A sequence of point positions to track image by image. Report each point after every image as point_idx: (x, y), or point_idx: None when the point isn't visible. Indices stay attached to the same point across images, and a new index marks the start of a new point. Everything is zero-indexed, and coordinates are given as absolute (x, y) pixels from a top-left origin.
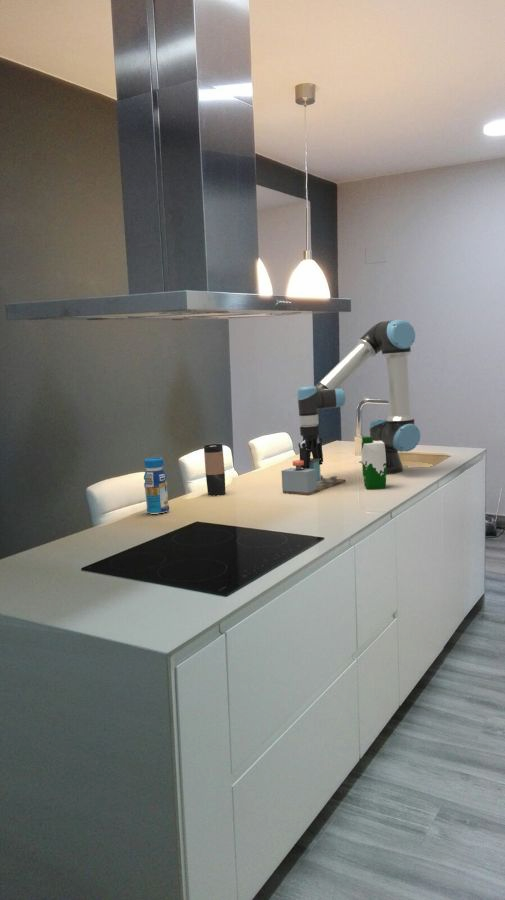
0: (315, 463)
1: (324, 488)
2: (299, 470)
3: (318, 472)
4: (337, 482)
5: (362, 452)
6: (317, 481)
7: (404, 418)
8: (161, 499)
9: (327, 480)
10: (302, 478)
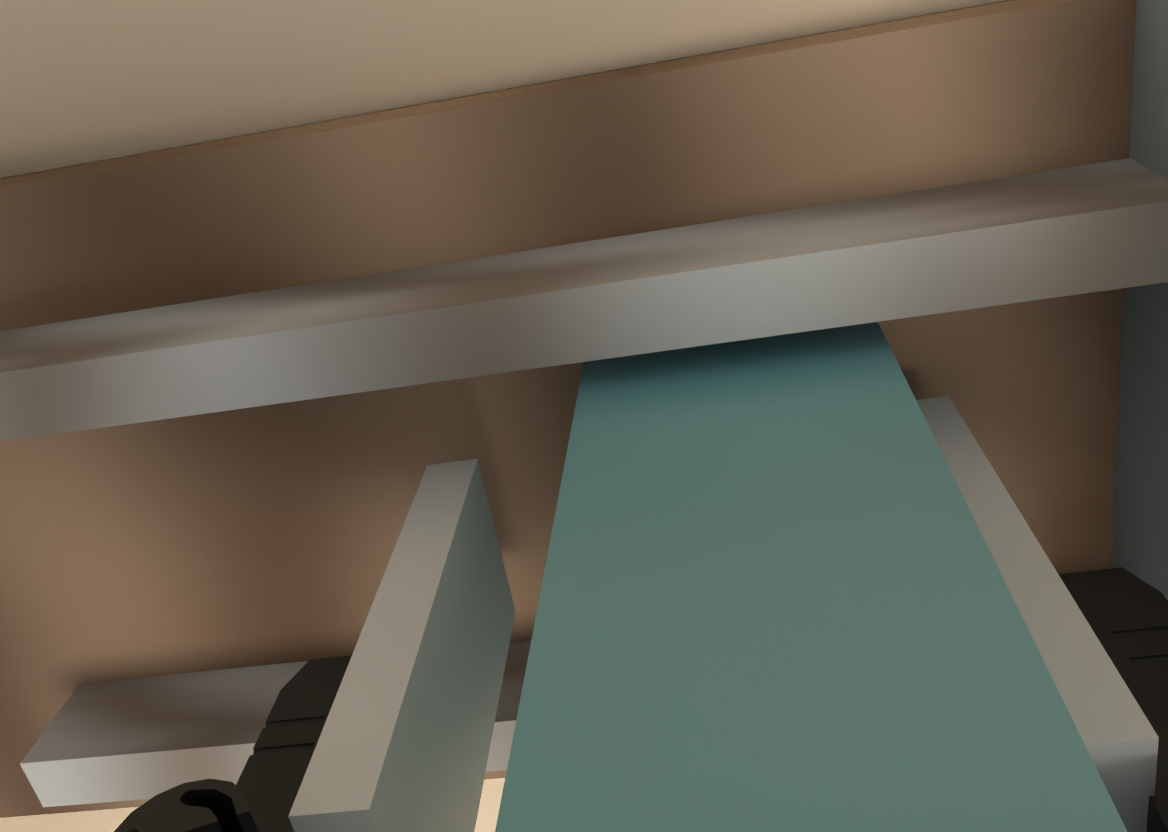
0: (861, 812)
1: (714, 57)
2: None
3: (618, 520)
4: (30, 184)
5: None
6: (715, 368)
7: None
8: None
9: (311, 314)
10: None
